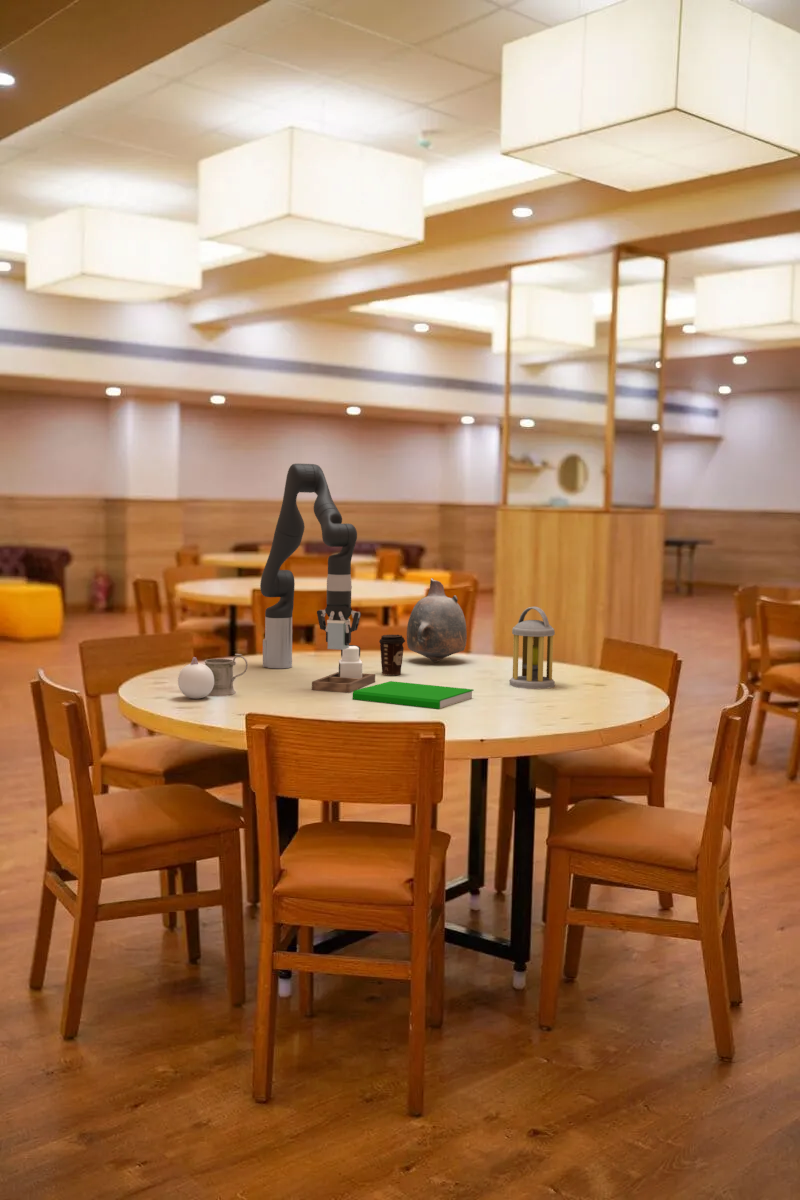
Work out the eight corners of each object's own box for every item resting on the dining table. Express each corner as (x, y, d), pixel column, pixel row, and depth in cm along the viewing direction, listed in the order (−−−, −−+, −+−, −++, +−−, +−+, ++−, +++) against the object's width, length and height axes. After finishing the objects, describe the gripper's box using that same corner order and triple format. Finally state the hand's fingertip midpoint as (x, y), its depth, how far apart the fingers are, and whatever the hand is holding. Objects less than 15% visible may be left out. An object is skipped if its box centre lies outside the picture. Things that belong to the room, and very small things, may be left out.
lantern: (500, 684, 379) (502, 606, 376) (527, 680, 389) (529, 603, 387) (536, 690, 369) (538, 609, 367) (563, 685, 379) (565, 607, 377)
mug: (195, 694, 352) (196, 653, 351) (213, 689, 361) (213, 649, 360) (238, 697, 347) (239, 657, 346) (255, 693, 356) (255, 653, 355)
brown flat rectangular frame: (311, 689, 363) (311, 681, 363) (338, 679, 384) (338, 671, 384) (350, 692, 359) (350, 684, 359) (375, 681, 380) (375, 674, 380)
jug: (467, 667, 416) (469, 581, 413) (406, 666, 416) (407, 580, 414) (464, 657, 440) (466, 576, 438) (406, 656, 441) (407, 575, 438)
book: (390, 690, 367) (390, 681, 367) (473, 699, 353) (473, 689, 353) (352, 701, 347) (352, 691, 347) (438, 710, 334) (438, 700, 333)
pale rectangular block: (326, 648, 364) (327, 620, 363) (333, 646, 369) (333, 618, 368) (343, 649, 362) (343, 621, 361) (349, 647, 367) (349, 619, 366)
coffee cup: (405, 672, 400) (406, 634, 399) (403, 676, 392) (404, 637, 391) (380, 672, 401) (380, 633, 400) (377, 675, 393) (377, 636, 392)
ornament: (184, 702, 338) (184, 660, 337) (173, 696, 347) (173, 655, 346) (218, 700, 343) (219, 658, 342) (207, 694, 352) (207, 654, 351)
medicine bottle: (338, 681, 380) (339, 644, 379) (361, 681, 381) (361, 644, 379) (339, 685, 373) (339, 647, 372) (362, 685, 373) (362, 647, 372)
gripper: (312, 589, 363) (312, 644, 364) (356, 590, 358) (356, 647, 360) (321, 587, 370) (321, 641, 371) (365, 589, 365) (364, 644, 367)
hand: (338, 644), depth 365 cm, fingers closed on pale rectangular block, 5 cm apart
